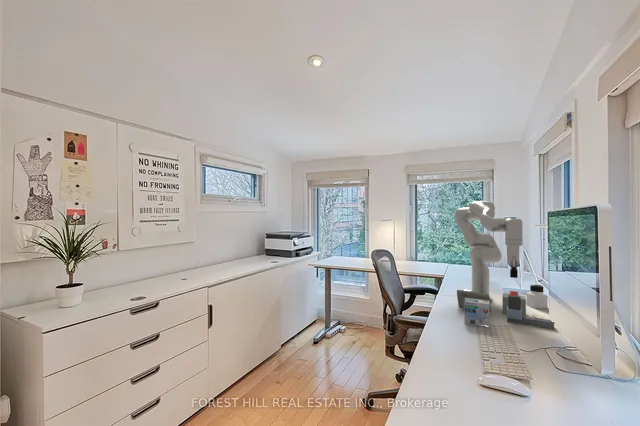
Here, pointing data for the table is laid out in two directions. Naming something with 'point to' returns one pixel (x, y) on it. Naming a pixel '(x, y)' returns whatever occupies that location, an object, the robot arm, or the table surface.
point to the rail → (533, 322)
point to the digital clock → (472, 295)
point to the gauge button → (513, 293)
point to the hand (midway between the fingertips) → (513, 277)
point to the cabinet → (505, 304)
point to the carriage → (514, 307)
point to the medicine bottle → (536, 297)
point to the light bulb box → (476, 312)
